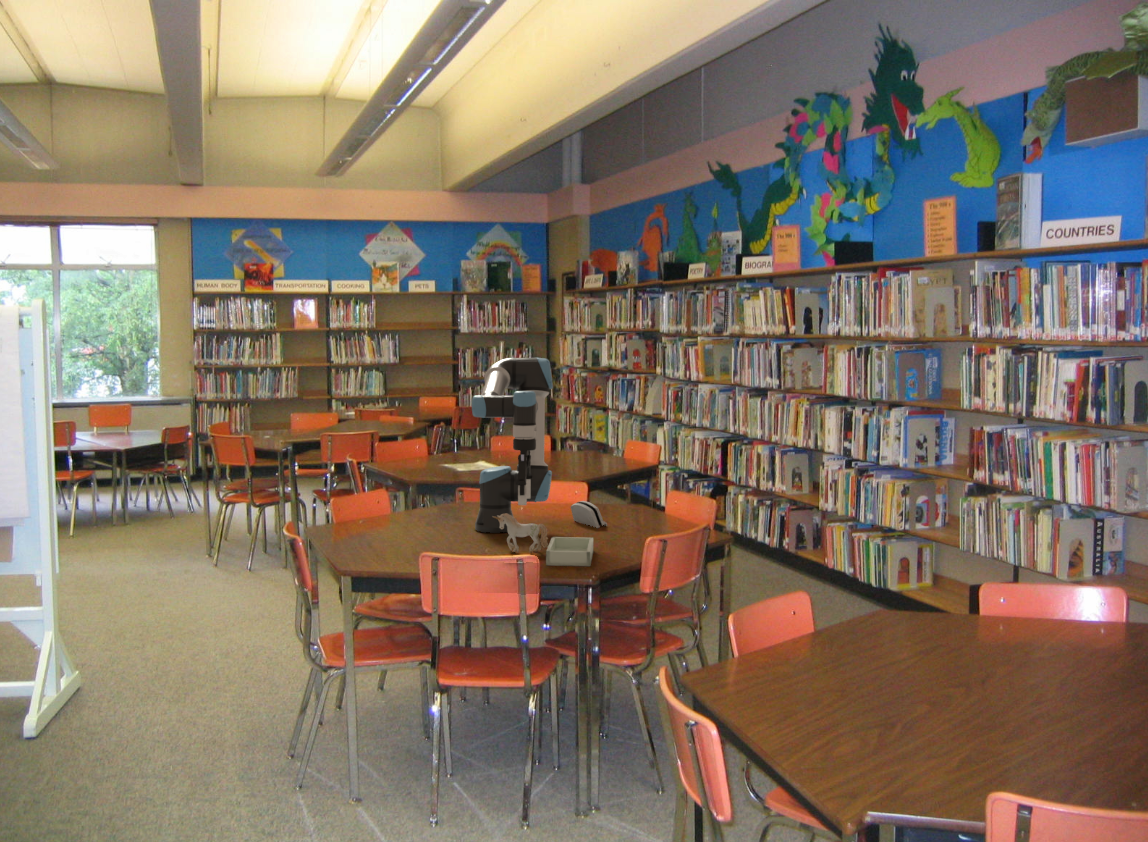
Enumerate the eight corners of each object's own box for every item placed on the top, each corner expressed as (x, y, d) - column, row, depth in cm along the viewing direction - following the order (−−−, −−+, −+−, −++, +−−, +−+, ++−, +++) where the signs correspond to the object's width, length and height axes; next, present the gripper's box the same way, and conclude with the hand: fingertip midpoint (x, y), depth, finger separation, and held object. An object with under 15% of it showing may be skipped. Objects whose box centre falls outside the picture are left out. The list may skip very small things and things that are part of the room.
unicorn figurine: (488, 551, 326) (488, 512, 325) (545, 548, 331) (545, 510, 330) (492, 556, 319) (492, 516, 318) (550, 553, 324) (550, 513, 323)
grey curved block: (608, 526, 369) (601, 503, 367) (598, 532, 367) (591, 508, 364) (584, 519, 383) (577, 496, 381) (574, 524, 381) (567, 501, 379)
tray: (546, 565, 307) (546, 551, 307) (551, 550, 329) (552, 536, 329) (590, 566, 306) (590, 552, 306) (593, 550, 328) (593, 537, 328)
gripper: (532, 441, 308) (532, 508, 310) (539, 434, 333) (538, 495, 335) (508, 441, 309) (508, 507, 310) (517, 434, 333) (517, 495, 335)
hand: (524, 501), depth 322 cm, fingers open, 13 cm apart
